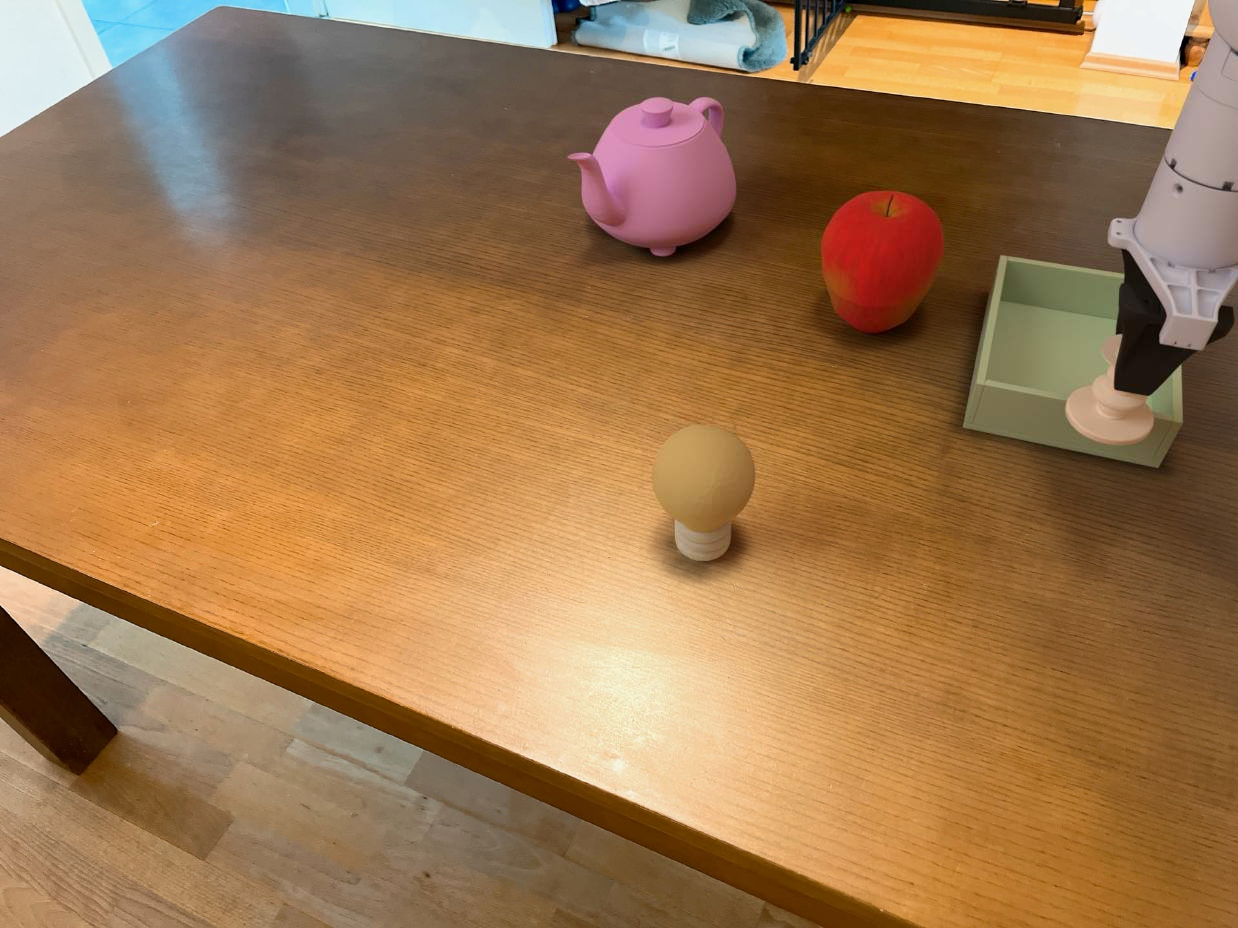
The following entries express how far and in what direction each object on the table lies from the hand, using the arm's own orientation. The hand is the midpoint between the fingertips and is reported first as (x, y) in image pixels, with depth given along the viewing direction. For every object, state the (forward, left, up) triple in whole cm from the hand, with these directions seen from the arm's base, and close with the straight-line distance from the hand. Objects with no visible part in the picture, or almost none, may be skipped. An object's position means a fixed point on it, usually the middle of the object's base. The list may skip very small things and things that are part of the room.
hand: (1132, 365), depth 57 cm
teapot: (+39, -21, -11) cm, 46 cm away
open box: (+2, -11, -10) cm, 15 cm away
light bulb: (+23, +14, -11) cm, 29 cm away
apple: (+17, -13, -11) cm, 24 cm away
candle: (0, 0, -5) cm, 5 cm away
